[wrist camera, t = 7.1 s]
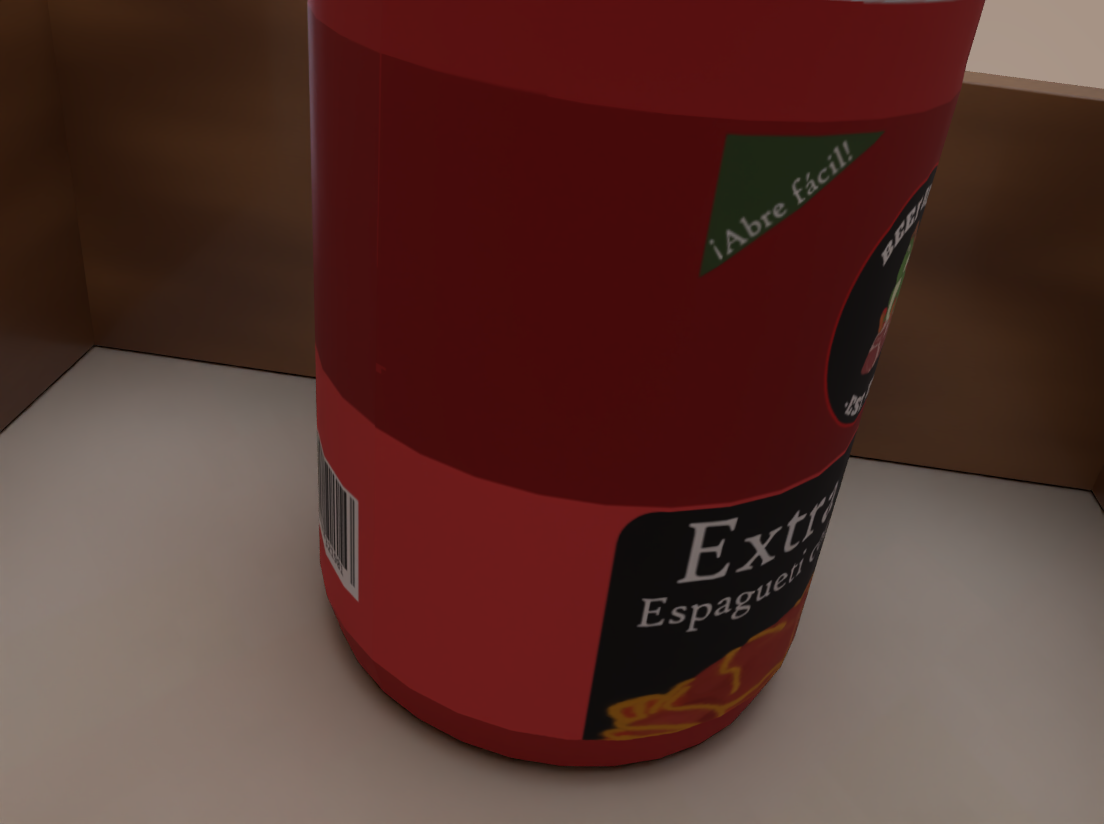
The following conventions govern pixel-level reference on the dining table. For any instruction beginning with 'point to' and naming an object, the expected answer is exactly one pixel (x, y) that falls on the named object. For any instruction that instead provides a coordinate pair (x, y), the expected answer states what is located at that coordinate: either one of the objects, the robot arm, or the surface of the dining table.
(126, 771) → the dining table surface
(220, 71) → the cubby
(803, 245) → the canned food
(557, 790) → the dining table surface
